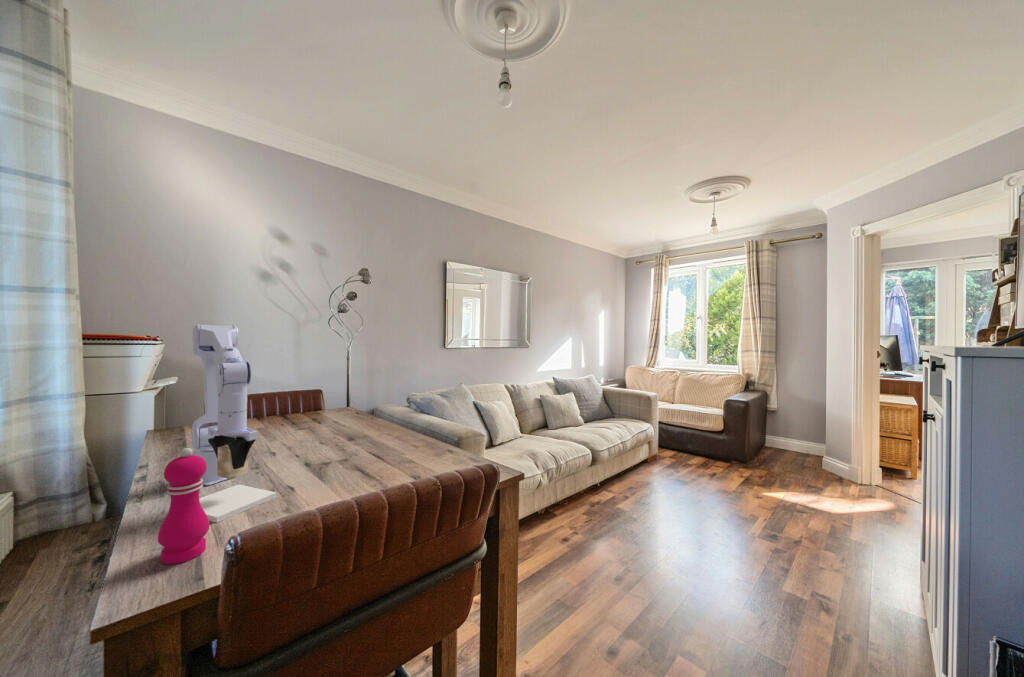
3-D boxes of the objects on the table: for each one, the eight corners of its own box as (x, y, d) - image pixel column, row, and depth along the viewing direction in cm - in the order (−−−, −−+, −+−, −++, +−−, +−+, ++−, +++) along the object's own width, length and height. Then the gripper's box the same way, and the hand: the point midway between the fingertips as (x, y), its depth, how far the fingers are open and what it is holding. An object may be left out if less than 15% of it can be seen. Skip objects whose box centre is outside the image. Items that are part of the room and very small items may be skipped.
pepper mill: (164, 571, 64) (167, 456, 64) (151, 557, 68) (153, 449, 68) (215, 551, 70) (217, 446, 70) (200, 539, 74) (202, 440, 74)
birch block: (216, 476, 89) (217, 447, 89) (235, 470, 93) (236, 442, 93) (229, 478, 88) (230, 449, 88) (248, 472, 92) (248, 444, 92)
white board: (176, 511, 85) (176, 506, 85) (238, 488, 98) (238, 484, 98) (216, 522, 81) (217, 517, 81) (276, 497, 94) (276, 492, 94)
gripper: (194, 411, 89) (193, 467, 89) (236, 416, 84) (235, 476, 84) (225, 406, 95) (224, 459, 95) (266, 411, 91) (264, 466, 91)
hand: (231, 466), depth 90 cm, fingers closed on birch block, 4 cm apart
